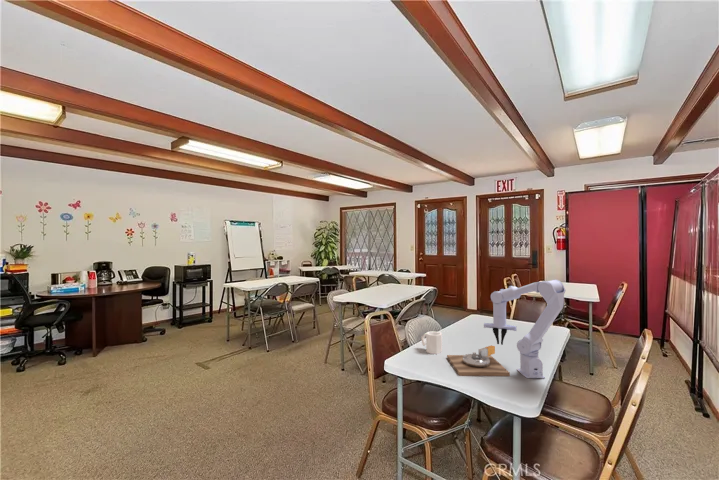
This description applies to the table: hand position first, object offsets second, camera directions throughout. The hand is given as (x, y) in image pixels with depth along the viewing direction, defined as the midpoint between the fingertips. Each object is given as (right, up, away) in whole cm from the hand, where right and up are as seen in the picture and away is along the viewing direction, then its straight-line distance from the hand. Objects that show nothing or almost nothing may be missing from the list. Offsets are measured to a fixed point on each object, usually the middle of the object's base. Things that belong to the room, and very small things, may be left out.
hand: (500, 343), depth 155 cm
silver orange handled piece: (-10, -8, -2) cm, 13 cm away
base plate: (-13, -9, -4) cm, 16 cm away
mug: (-29, -10, +19) cm, 36 cm away
